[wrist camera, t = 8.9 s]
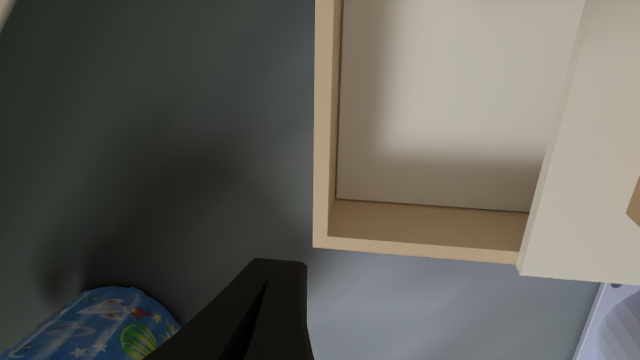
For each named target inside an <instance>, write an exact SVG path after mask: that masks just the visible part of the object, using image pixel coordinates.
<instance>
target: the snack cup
mask: <svg viewBox="0 0 640 360" xmlns="http://www.w3.org/2000/svg"><path fill="white" fill-rule="evenodd" d="M181 328H182V327H181V325H180V324H179V323H177V322H176V321H175V320H174V318H173V316H172V315H171V314H170V312H169V311H168V310H167V309H166V308H165V307H163V306H162V305H161V304H160V303H158V302H157V301H156V300H154V299H152V298H150V297H148V296H147V295H145V293H144V292H143V291H142V290H139V289H137V288H134V287H129V288H124V287H118V286H109V287H100V288H96V289H92V290H89V291H84V292H82V293H81V294H80V295H78V296H76V297H75V298H74V299H72V300H71V301H70V302H69V303H67V304H66V305H64V306H62V307H61V308H60V309H59V310H57V311H56V312H55V313H53V314H52V315H51V316H49V317H48V318H47V319H46V320H44V321H43V322H42V323H41V324H39V325H38V326H37V327H36V328H34V329H33V330H32V331H31V332H29V333H28V334H27V335H25V336H24V337H23V338H22V339H21V340H19V341H18V342H17V343H16V344H14V345H13V346H11V347H10V348H9V349H8V350H6V351H5V352H4V353H3V354H2V355H1V356H0V360H141V359H143V358H144V357H145V356H147V355H148V354H149V353H151V352H152V351H153V350H155V349H156V348H157V347H159V346H160V345H161V344H163V343H164V342H165V341H166V340H168V339H169V338H170V337H171V336H173V335H174V334H175V333H176V332H177V331H178V330H180V329H181Z"/></svg>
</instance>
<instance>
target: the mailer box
mask: <svg viewBox="0 0 640 360" xmlns="http://www.w3.org/2000/svg"><path fill="white" fill-rule="evenodd" d="M584 3H585V0H315V87H314V175H313V247H315V248H327V249H338V250H350V251H362V252H374V253H386V254H398V255H410V256H422V257H434V258H446V259H458V260H469V261H481V262H493V263H505V264H516V263H517V259H518V255H519V251H520V248H521V244H522V240H523V236H524V232H525V228H526V225H527V221H528V217H529V213H530V209H531V206H532V202H533V198H534V194H535V190H536V186H537V183H538V179H539V175H540V171H541V167H542V164H543V160H544V156H545V152H546V148H547V144H548V141H549V137H550V133H551V129H552V125H553V122H554V118H555V114H556V110H557V106H558V102H559V99H560V95H561V91H562V87H563V83H564V80H565V76H566V72H567V68H568V64H569V60H570V57H571V53H572V49H573V45H574V41H575V38H576V34H577V30H578V26H579V22H580V18H581V15H582V11H583V7H584Z"/></svg>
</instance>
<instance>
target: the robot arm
mask: <svg viewBox="0 0 640 360" xmlns="http://www.w3.org/2000/svg"><path fill="white" fill-rule="evenodd" d="M141 360H314V357H313V353H312V348H311V344H310V339H309V334H308V329H307V266H306V265H305V264H304V263H303V262H296V261H285V260H273V259H262V258H255V259H253V260H252V261H251V262H250V263H249V264H248V265H247V266H246V267H245V268H244V269H243V270H242V271H241V272H240V273H239V274H238V275H237V276H236V277H235V279H234V280H233V281H232V282H231V283H230V284H229V285H228V286H227V287H226V288H225V289H224V290H223V291H222V292H221V293H219V294H218V295H217V296H216V297H215V298H214V299H213V300H212V301H211V302H210V303H209V304H208V305H207V306H206V307H205V308H204V309H203V310H201V311H200V312H199V313H198V314H197V315H196V316H195V317H194V318H192V319H191V320H190V321H189V322H188V323H187V324H185V325H184V326H183V327H182V328H181V329H180V330H178V331H177V332H176V333H175V334H174V335H173V336H171V337H170V338H169V339H168V340H166V341H165V342H164V343H163V344H161V345H160V346H159V347H157V348H156V349H155V350H153V351H152V352H151V353H149V354H148V355H147V356H145V357H144V358H143V359H141ZM572 360H640V286H639V285H627V284H616V283H604V282H601V284H600V287H599V290H598V292H597V295H596V298H595V300H594V303H593V306H592V308H591V311H590V314H589V316H588V319H587V322H586V324H585V327H584V330H583V332H582V335H581V338H580V340H579V343H578V346H577V348H576V351H575V354H574V356H573V359H572Z"/></svg>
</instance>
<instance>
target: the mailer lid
mask: <svg viewBox="0 0 640 360" xmlns="http://www.w3.org/2000/svg"><path fill="white" fill-rule="evenodd" d="M516 268H517V270H518V272H519V274H520V275H523V276H534V277H546V278H558V279H569V280H581V281H592V282H604V283H616V284H627V285H639V286H640V0H585V3H584V7H583V11H582V15H581V18H580V22H579V26H578V30H577V34H576V38H575V41H574V45H573V49H572V53H571V57H570V60H569V64H568V68H567V72H566V76H565V80H564V83H563V87H562V91H561V95H560V99H559V102H558V106H557V110H556V114H555V118H554V122H553V125H552V129H551V133H550V137H549V141H548V144H547V148H546V152H545V156H544V160H543V164H542V167H541V171H540V175H539V179H538V183H537V186H536V190H535V194H534V198H533V202H532V206H531V209H530V213H529V217H528V221H527V225H526V228H525V232H524V236H523V240H522V244H521V248H520V251H519V255H518V259H517V263H516Z"/></svg>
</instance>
